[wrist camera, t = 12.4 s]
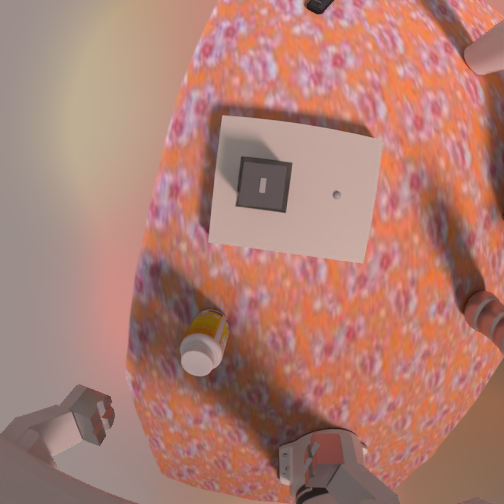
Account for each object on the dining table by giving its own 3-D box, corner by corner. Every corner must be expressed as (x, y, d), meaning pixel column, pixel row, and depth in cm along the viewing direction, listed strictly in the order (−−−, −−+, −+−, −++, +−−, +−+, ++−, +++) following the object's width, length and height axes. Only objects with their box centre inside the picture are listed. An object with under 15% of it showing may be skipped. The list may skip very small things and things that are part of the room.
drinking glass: (455, 38, 29) (506, 5, 14) (484, 49, 28) (537, 25, 14) (462, 74, 31) (521, 49, 16) (492, 84, 30) (550, 67, 16)
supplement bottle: (186, 318, 44) (165, 356, 34) (215, 301, 43) (198, 337, 33) (209, 346, 45) (194, 387, 35) (238, 330, 44) (228, 371, 34)
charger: (280, 203, 38) (281, 209, 32) (244, 199, 38) (238, 203, 32) (285, 168, 37) (287, 167, 31) (248, 163, 37) (243, 161, 31)
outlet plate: (358, 258, 39) (363, 263, 37) (212, 238, 40) (208, 242, 38) (376, 141, 35) (383, 140, 33) (225, 118, 36) (222, 115, 34)
